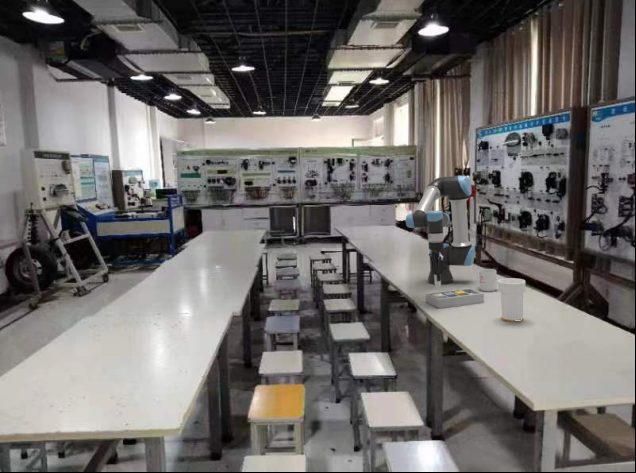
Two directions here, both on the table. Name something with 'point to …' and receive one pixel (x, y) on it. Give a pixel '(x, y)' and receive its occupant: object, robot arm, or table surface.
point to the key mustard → (460, 293)
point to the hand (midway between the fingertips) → (437, 286)
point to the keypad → (455, 298)
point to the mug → (487, 279)
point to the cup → (511, 298)
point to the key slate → (449, 294)
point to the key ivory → (438, 296)
